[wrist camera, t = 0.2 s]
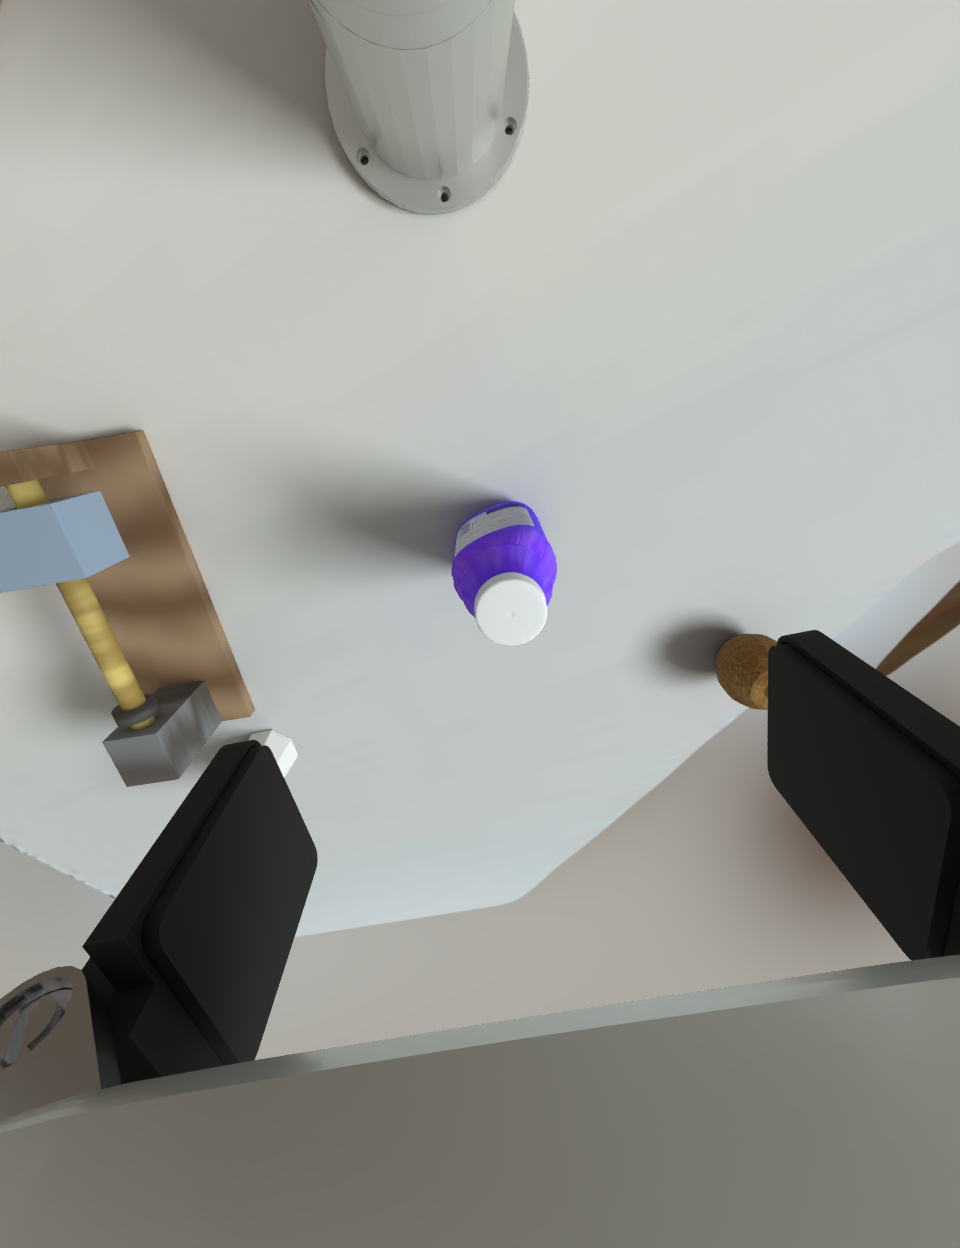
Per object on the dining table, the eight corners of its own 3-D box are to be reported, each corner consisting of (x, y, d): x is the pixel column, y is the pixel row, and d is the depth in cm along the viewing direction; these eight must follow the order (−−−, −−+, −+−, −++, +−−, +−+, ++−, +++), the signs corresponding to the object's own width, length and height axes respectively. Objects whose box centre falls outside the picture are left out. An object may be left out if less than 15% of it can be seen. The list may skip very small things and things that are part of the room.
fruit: (776, 660, 51) (828, 705, 43) (714, 689, 52) (755, 738, 45) (755, 608, 49) (806, 647, 41) (691, 640, 50) (730, 682, 42)
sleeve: (16, 505, 39) (-45, 521, 34) (100, 490, 38) (49, 504, 34) (49, 570, 41) (-4, 593, 36) (129, 556, 40) (86, 577, 36)
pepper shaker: (272, 719, 52) (226, 797, 42) (309, 756, 54) (273, 839, 44) (232, 745, 53) (177, 827, 43) (269, 780, 55) (225, 867, 45)
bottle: (472, 581, 47) (475, 678, 31) (444, 523, 45) (432, 596, 29) (549, 548, 46) (592, 631, 30) (524, 487, 44) (556, 541, 28)
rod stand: (22, 453, 42) (-95, 469, 33) (143, 430, 41) (56, 440, 33) (156, 725, 52) (94, 791, 44) (254, 709, 52) (211, 774, 43)
